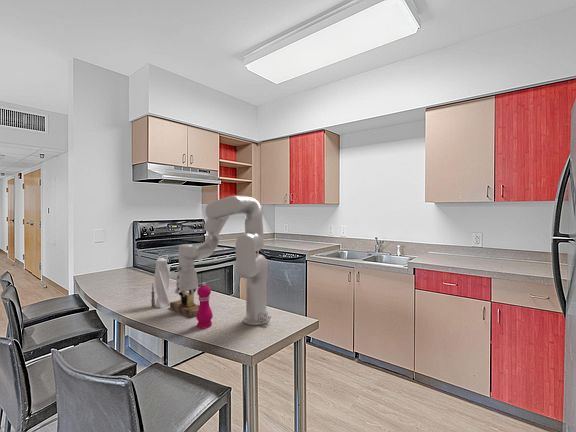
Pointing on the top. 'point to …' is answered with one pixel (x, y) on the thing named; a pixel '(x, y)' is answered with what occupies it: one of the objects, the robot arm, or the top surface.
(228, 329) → the top surface
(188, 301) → the tan rectangular block
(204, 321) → the pepper mill
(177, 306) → the rail
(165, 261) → the skyscraper
